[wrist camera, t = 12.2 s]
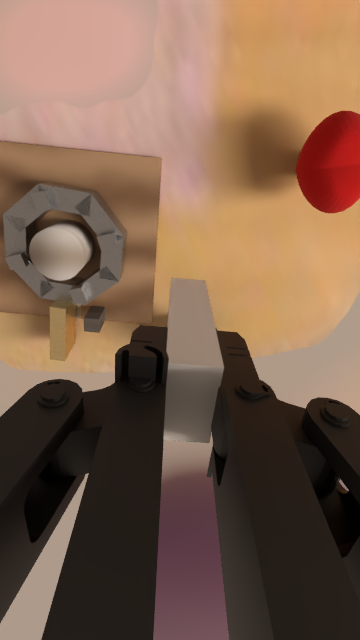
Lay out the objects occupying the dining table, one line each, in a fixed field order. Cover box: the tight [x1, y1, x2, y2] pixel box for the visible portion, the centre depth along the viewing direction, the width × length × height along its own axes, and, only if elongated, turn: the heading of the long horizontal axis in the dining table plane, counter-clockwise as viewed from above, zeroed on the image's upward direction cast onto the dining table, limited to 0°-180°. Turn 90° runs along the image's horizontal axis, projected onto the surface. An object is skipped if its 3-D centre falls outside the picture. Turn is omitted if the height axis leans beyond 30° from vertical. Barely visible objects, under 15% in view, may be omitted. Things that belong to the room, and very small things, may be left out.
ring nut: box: [3, 182, 127, 361], centre depth 40 cm, size 22×14×5 cm, turn 170°
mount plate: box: [0, 141, 162, 332], centre depth 39 cm, size 22×22×7 cm
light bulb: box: [296, 111, 360, 213], centre depth 34 cm, size 9×7×10 cm
